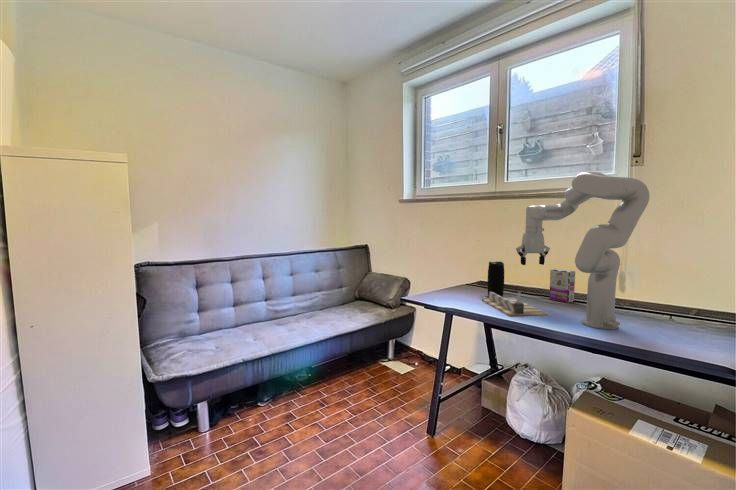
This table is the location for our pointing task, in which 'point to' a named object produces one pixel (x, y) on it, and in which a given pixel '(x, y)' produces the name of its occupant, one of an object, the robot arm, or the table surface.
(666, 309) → the table surface
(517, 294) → the tongs arm
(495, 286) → the portable speaker
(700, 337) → the table surface
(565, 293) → the candy bar box
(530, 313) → the tongs board
